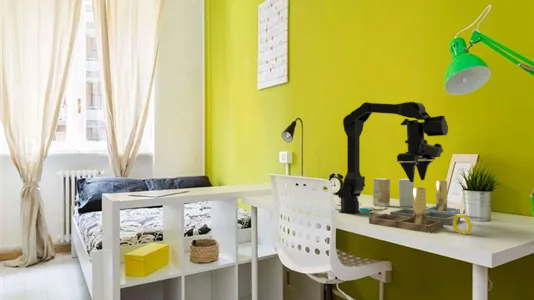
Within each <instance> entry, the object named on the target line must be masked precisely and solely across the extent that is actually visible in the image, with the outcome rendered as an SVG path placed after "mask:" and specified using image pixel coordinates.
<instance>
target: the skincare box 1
mask: <svg viewBox="0 0 534 300" xmlns="http://www.w3.org/2000/svg"><path fill="white" fill-rule="evenodd" d="M372 180H373V183H372V184H373V187H372V192H373V194H372V205H373V206H375V205H376V206H378V207H384V208H386V207H390V205H391V201H390V200H391V179H390V178H381V177H377V178H373V179H372Z"/></svg>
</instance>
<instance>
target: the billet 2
mask: <svg viewBox="0 0 534 300" xmlns="http://www.w3.org/2000/svg"><path fill="white" fill-rule="evenodd" d="M435 206H436V211H445V212H447V208H448V181H447V180H435Z"/></svg>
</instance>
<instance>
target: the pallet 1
mask: <svg viewBox="0 0 534 300" xmlns="http://www.w3.org/2000/svg"><path fill="white" fill-rule="evenodd" d="M368 223H369V224H371V225H377V226H383V227H390V228H397V229H402V230H410V231H417V232H421V231H422V233H428V232H430V233H432V232H435V231H437V230H440V229H442V228H444V225H443V221H439V220H431V219H426V225H422V224H415V223H413V217H408V216H400V215H393V214H390V213H381V214H378V215H374V216H370V217H369V218H368Z"/></svg>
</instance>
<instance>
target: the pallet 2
mask: <svg viewBox="0 0 534 300" xmlns="http://www.w3.org/2000/svg"><path fill="white" fill-rule="evenodd" d="M389 214H393V215H400V216H408V217H413V208H411V209H410V208H401V209H398V210H397V209H396V210H393V211H390V212H389ZM455 216H457V215H456V214H448V213H439V212H430V211H426V219H431V220H439V221H443V226H450V225H453V219H454V217H455ZM457 221H458V222H460V221H461V217H458V219H457Z"/></svg>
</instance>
